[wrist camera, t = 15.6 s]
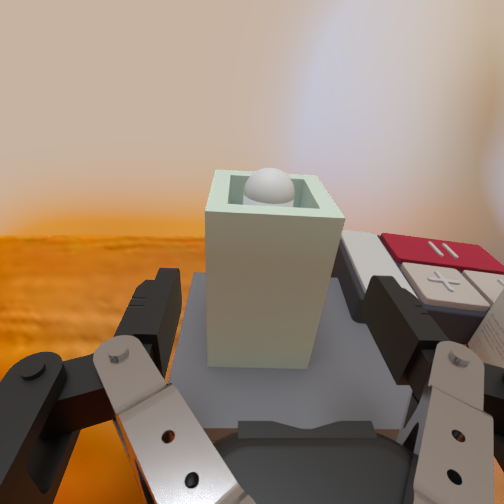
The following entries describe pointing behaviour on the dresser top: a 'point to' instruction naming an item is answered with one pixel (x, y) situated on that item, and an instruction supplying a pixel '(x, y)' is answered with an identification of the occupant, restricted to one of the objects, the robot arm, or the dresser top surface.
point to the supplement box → (491, 335)
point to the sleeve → (267, 272)
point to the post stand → (288, 380)
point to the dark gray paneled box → (422, 276)
